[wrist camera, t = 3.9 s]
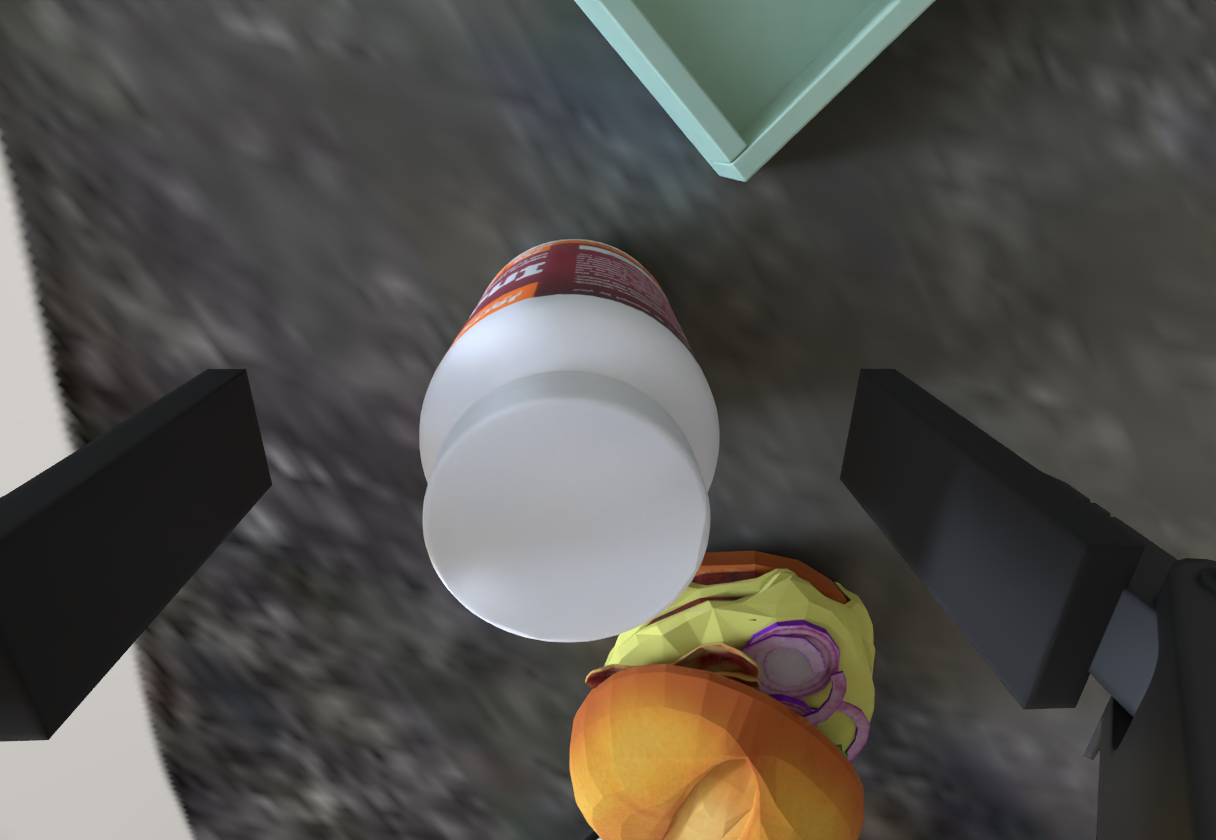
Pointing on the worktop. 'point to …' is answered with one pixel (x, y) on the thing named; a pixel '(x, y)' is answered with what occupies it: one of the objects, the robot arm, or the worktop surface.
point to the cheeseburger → (732, 711)
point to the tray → (748, 63)
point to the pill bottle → (569, 449)
